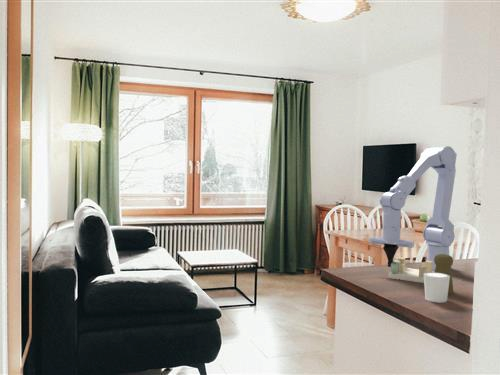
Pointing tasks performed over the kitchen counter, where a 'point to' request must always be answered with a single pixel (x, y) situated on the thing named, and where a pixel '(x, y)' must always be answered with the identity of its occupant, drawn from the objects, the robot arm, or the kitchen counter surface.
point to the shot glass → (436, 286)
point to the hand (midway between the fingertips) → (390, 266)
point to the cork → (444, 268)
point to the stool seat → (412, 272)
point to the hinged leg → (395, 266)
